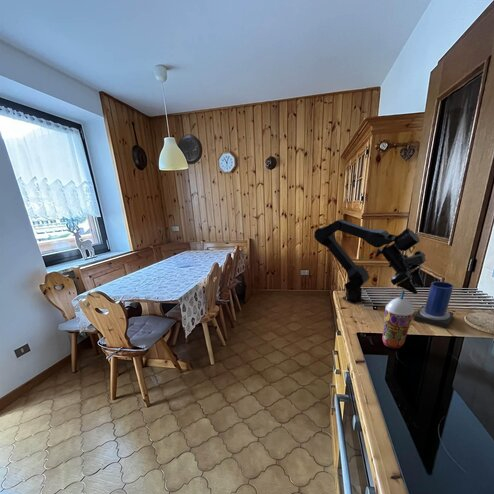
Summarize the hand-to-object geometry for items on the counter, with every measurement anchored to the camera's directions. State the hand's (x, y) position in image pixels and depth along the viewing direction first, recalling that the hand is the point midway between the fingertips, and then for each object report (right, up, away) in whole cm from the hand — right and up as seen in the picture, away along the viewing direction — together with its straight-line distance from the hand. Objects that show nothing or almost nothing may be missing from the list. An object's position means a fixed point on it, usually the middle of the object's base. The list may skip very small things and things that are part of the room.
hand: (419, 289), depth 111 cm
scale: (+6, -11, +1) cm, 13 cm away
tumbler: (+6, -9, -1) cm, 11 cm away
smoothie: (-18, -20, -13) cm, 30 cm away
